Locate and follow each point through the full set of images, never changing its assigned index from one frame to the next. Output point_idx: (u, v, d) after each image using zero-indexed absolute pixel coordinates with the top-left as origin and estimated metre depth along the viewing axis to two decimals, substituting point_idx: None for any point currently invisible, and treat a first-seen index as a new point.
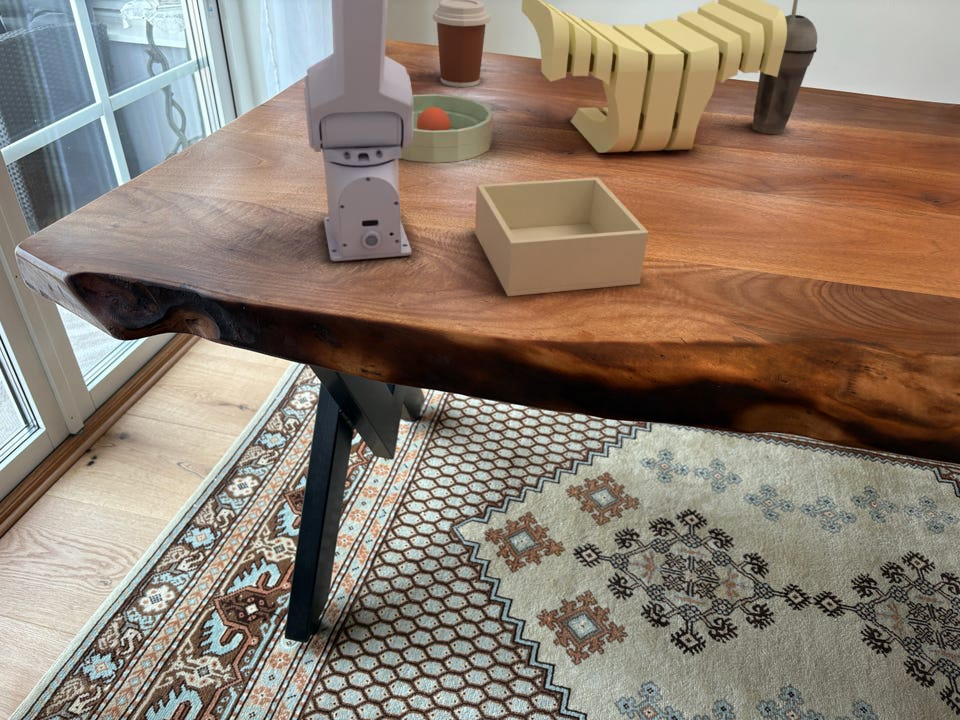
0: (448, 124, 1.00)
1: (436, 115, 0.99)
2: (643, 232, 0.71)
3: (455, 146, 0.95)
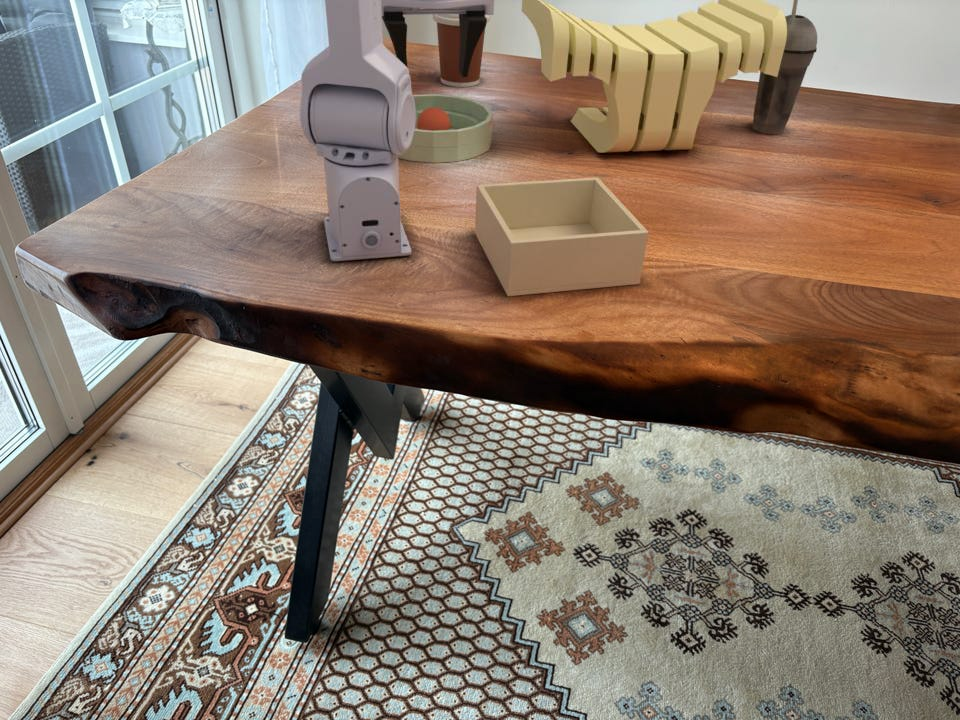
0: (448, 124, 1.00)
1: (436, 115, 0.99)
2: (643, 232, 0.71)
3: (455, 146, 0.95)
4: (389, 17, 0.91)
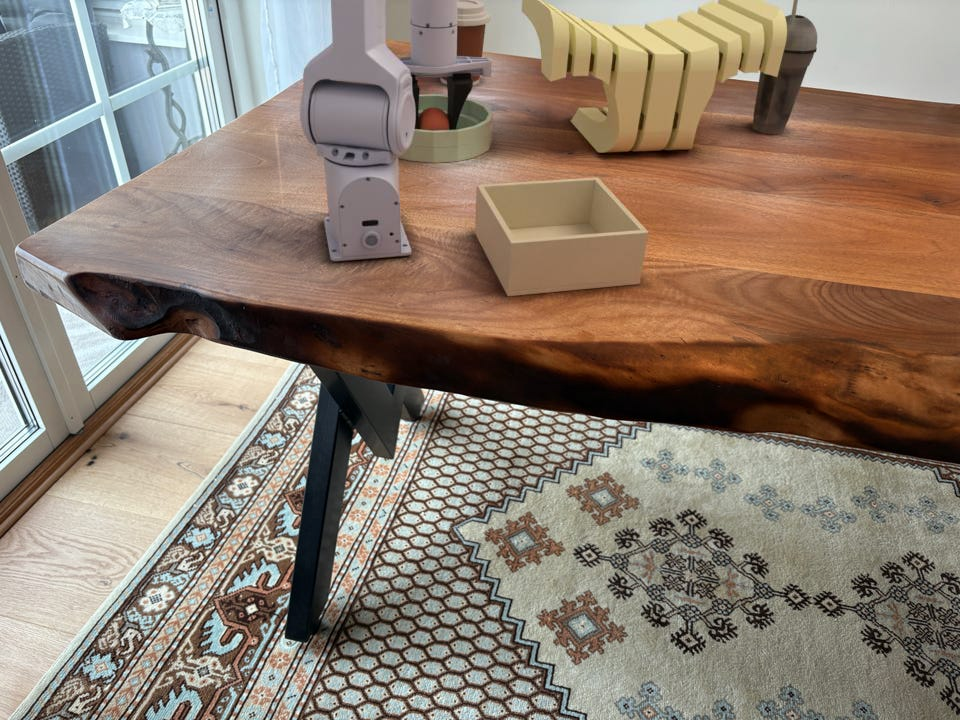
0: (448, 124, 1.00)
1: (436, 115, 0.99)
2: (643, 232, 0.71)
3: (455, 146, 0.95)
4: None
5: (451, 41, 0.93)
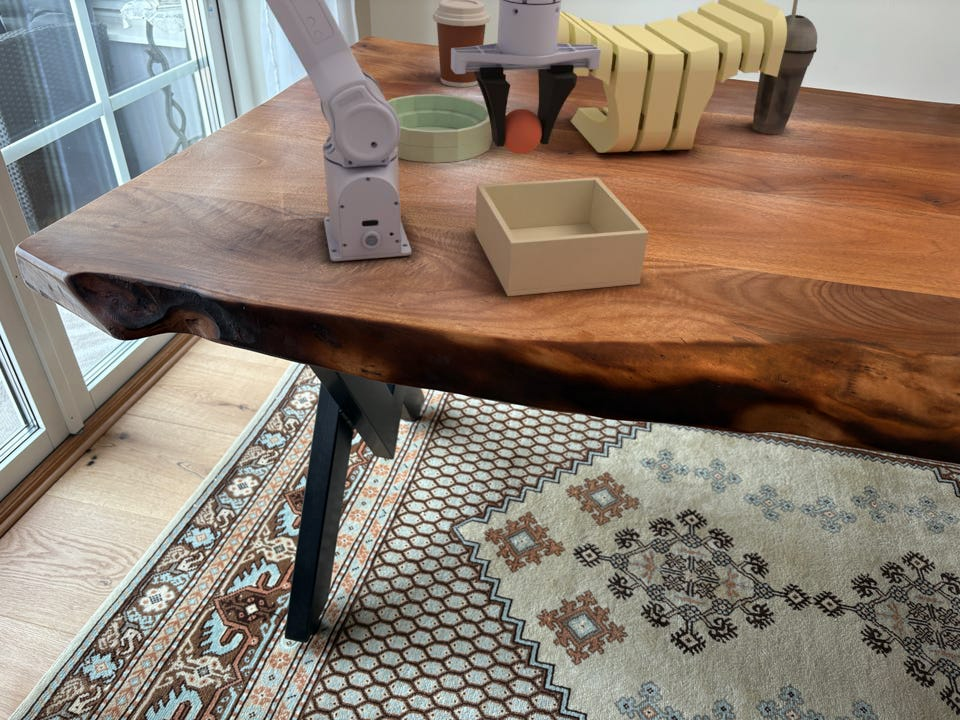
0: (540, 130, 0.78)
1: (527, 118, 0.76)
2: (643, 232, 0.71)
3: (455, 146, 0.95)
4: (487, 74, 0.73)
5: (554, 22, 0.71)
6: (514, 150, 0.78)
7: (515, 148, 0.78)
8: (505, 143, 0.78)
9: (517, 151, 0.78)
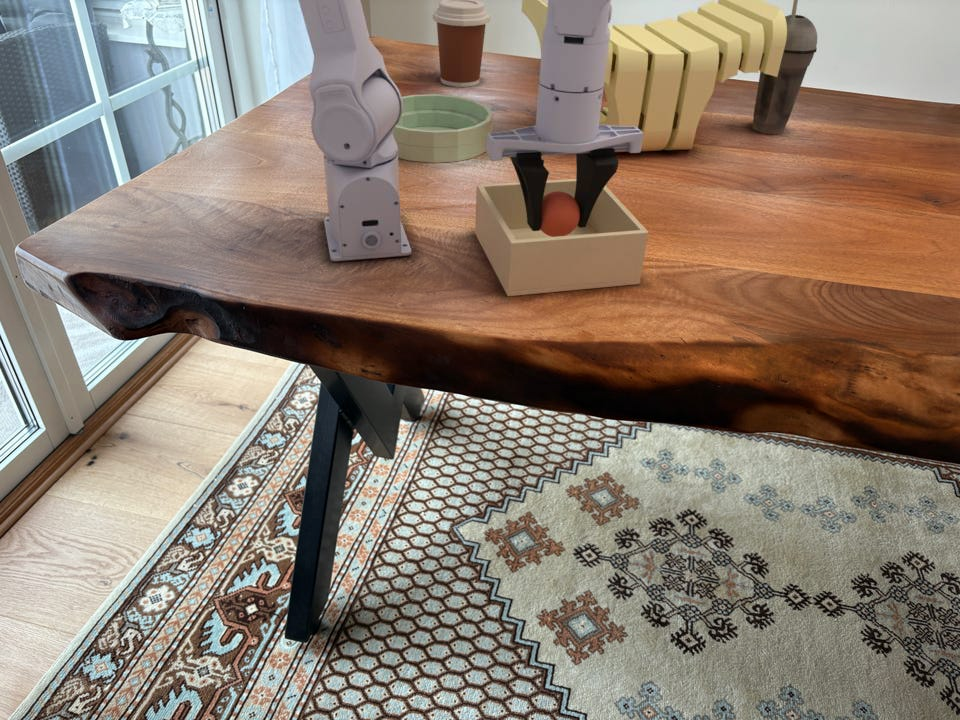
0: (578, 214, 0.74)
1: (564, 203, 0.73)
2: (643, 232, 0.71)
3: (455, 146, 0.95)
4: (524, 160, 0.70)
5: (596, 109, 0.67)
6: (551, 234, 0.74)
7: (552, 233, 0.74)
8: (541, 227, 0.74)
9: (554, 235, 0.74)
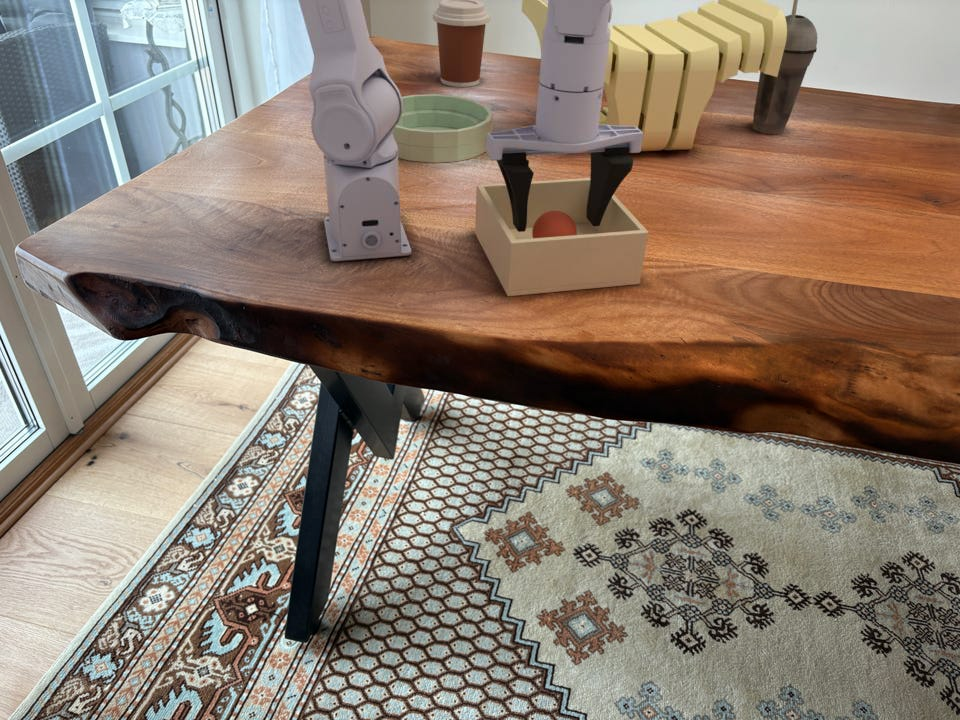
0: (575, 232, 0.75)
1: (560, 222, 0.74)
2: (643, 232, 0.71)
3: (455, 146, 0.95)
4: (509, 160, 0.69)
5: (596, 109, 0.67)
6: None
7: None
8: None
9: None
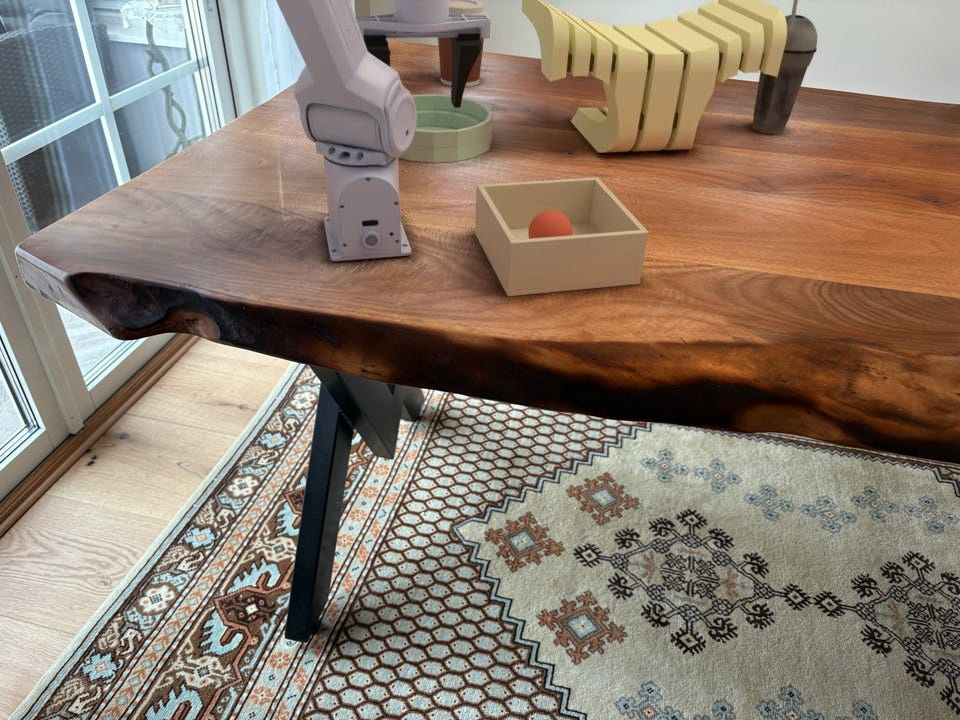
0: (570, 228, 0.75)
1: (553, 221, 0.74)
2: (643, 232, 0.71)
3: (455, 146, 0.95)
4: (370, 41, 0.80)
5: None
6: None
7: None
8: None
9: None
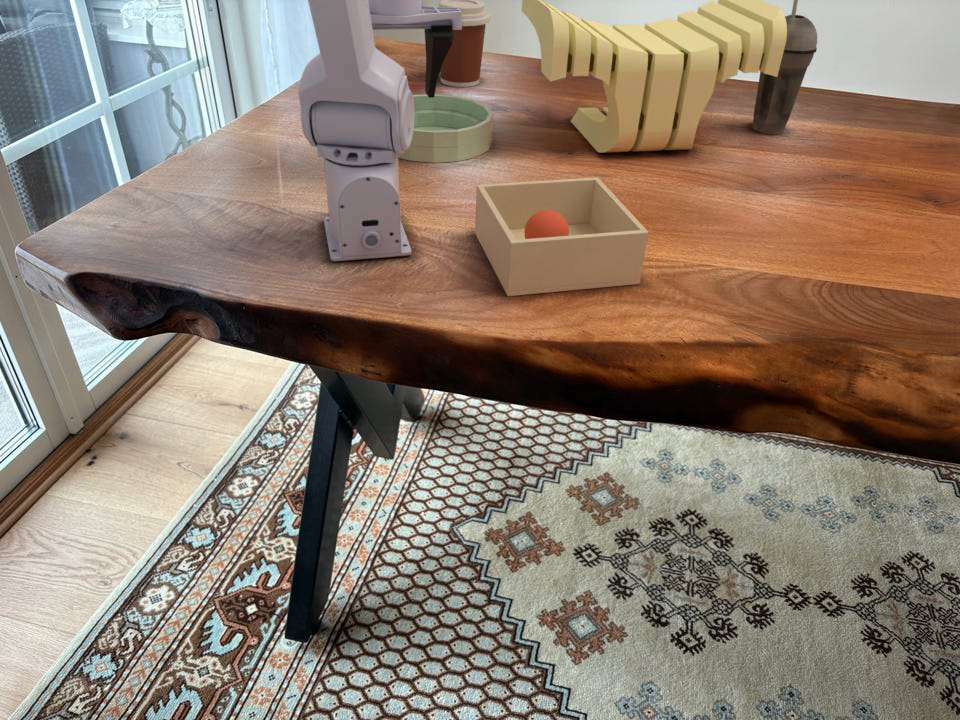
0: (564, 225, 0.75)
1: (546, 220, 0.74)
2: (643, 232, 0.71)
3: (455, 146, 0.95)
4: None
5: None
6: None
7: None
8: None
9: None
